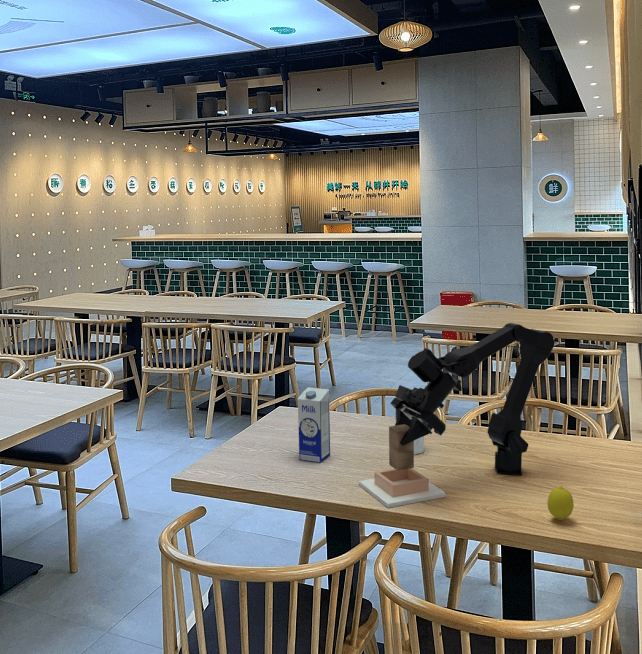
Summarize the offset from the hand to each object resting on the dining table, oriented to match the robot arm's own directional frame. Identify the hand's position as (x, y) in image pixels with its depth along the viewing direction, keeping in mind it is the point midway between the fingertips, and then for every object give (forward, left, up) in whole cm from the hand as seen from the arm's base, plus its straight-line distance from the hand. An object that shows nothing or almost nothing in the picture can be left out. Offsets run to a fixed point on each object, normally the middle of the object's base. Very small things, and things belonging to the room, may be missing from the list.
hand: (396, 441), depth 175 cm
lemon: (-38, +10, -13) cm, 42 cm away
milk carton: (+26, -21, -13) cm, 36 cm away
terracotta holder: (-1, -1, -13) cm, 13 cm away
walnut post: (-1, -1, -7) cm, 7 cm away
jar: (0, -32, -13) cm, 34 cm away
